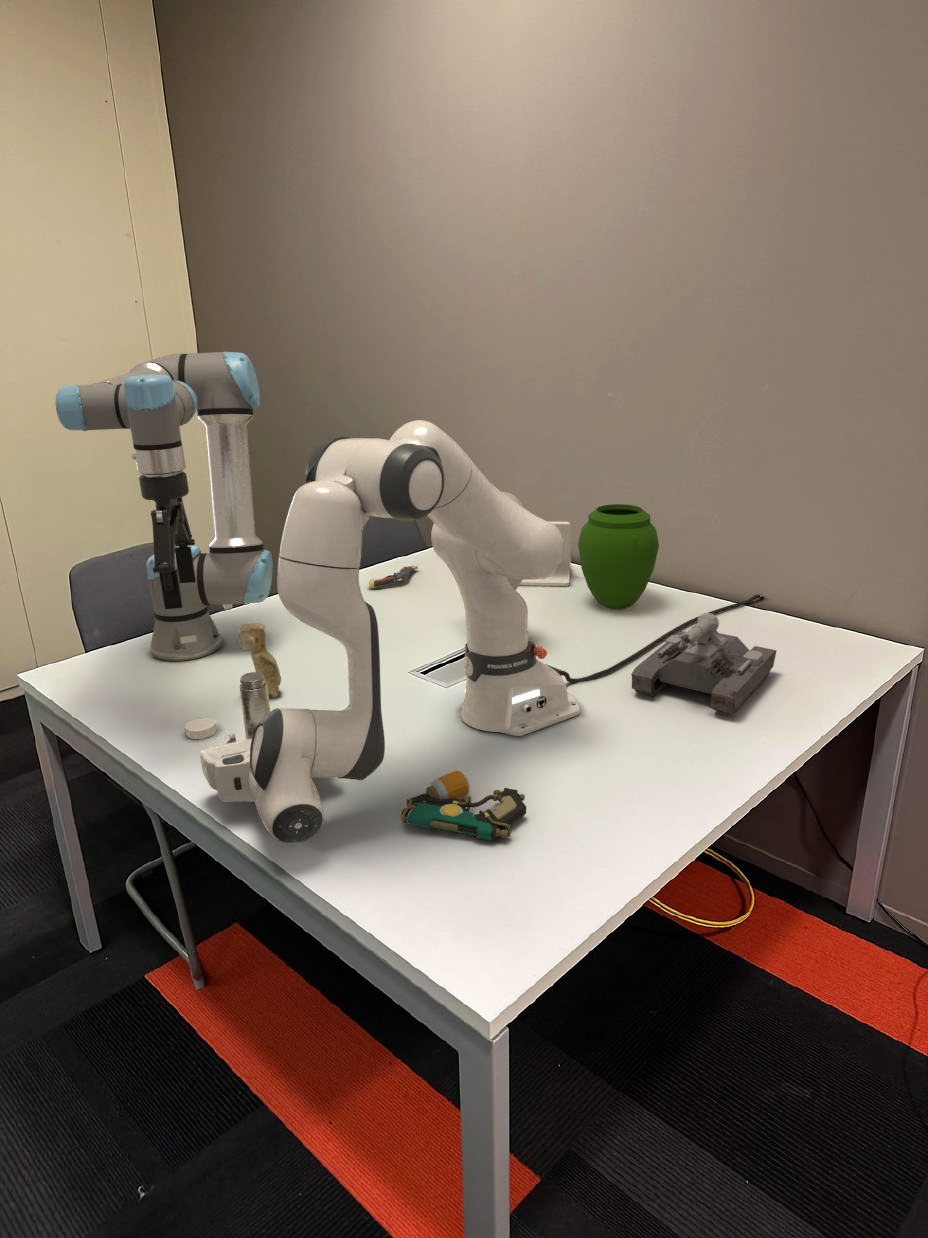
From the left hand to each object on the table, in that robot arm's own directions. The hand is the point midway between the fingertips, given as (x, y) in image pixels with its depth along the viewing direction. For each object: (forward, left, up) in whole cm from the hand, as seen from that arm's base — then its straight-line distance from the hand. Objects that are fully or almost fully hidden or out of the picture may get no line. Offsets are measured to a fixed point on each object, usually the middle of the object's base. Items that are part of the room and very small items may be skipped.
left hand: (181, 594), depth 148 cm
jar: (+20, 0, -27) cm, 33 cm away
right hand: (+20, 0, -20) cm, 28 cm away
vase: (+21, +104, -27) cm, 110 cm away
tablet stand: (-13, +109, -27) cm, 113 cm away
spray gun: (+56, +11, -27) cm, 63 cm away
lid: (0, 0, -25) cm, 25 cm away
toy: (+60, +76, -27) cm, 101 cm away
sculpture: (-4, +16, -27) cm, 31 cm away
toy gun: (-39, +83, -27) cm, 96 cm away
